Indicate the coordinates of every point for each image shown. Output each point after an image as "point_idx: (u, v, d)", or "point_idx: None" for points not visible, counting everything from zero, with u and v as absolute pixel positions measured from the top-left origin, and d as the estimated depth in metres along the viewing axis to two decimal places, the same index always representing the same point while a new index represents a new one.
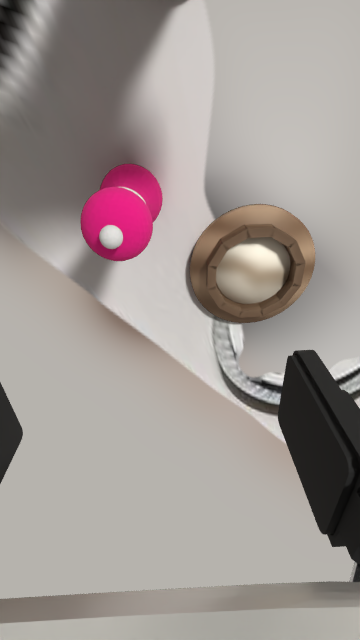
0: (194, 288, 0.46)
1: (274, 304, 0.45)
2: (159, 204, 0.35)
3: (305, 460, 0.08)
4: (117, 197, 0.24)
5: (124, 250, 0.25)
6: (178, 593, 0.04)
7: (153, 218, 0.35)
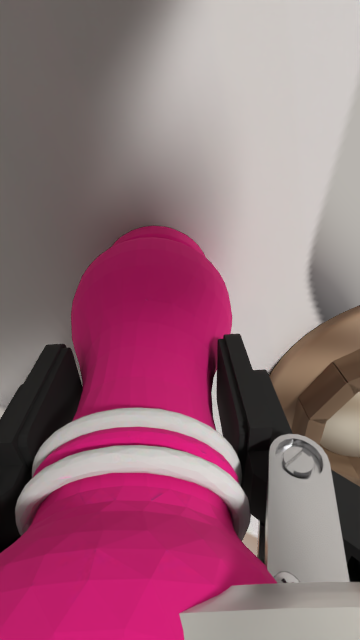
0: None
1: None
2: None
3: (226, 432, 0.09)
4: None
5: None
6: None
7: None
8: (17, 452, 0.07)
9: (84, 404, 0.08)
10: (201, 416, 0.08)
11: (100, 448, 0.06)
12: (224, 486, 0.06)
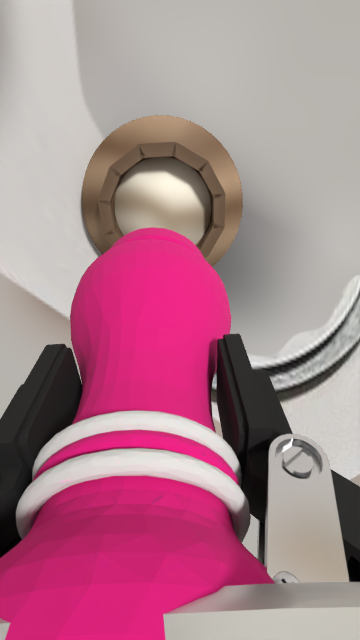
0: (93, 237, 0.36)
1: None
2: None
3: (226, 432, 0.09)
4: None
5: None
6: None
7: None
8: (17, 452, 0.07)
9: (84, 407, 0.08)
10: (201, 418, 0.08)
11: (101, 451, 0.06)
12: (224, 488, 0.06)
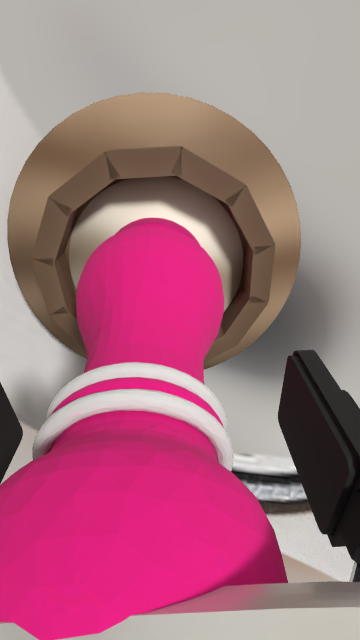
0: (36, 311, 0.21)
1: None
2: None
3: (305, 460, 0.08)
4: None
5: None
6: None
7: None
8: None
9: (90, 366, 0.09)
10: (192, 376, 0.09)
11: (105, 391, 0.07)
12: (209, 424, 0.07)
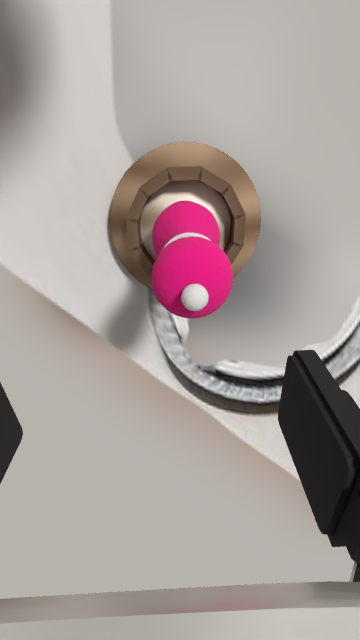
0: (118, 251, 0.38)
1: None
2: (218, 244, 0.32)
3: (305, 460, 0.08)
4: (201, 251, 0.20)
5: (204, 309, 0.22)
6: (179, 593, 0.04)
7: None
8: None
9: None
10: None
11: (184, 236, 0.24)
12: None
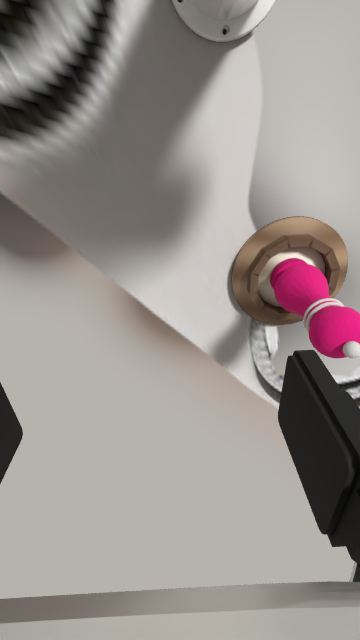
0: (236, 294, 0.50)
1: None
2: None
3: (305, 460, 0.08)
4: (354, 319, 0.32)
5: None
6: (178, 593, 0.04)
7: None
8: None
9: (311, 301, 0.38)
10: None
11: (327, 302, 0.36)
12: None
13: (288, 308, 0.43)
